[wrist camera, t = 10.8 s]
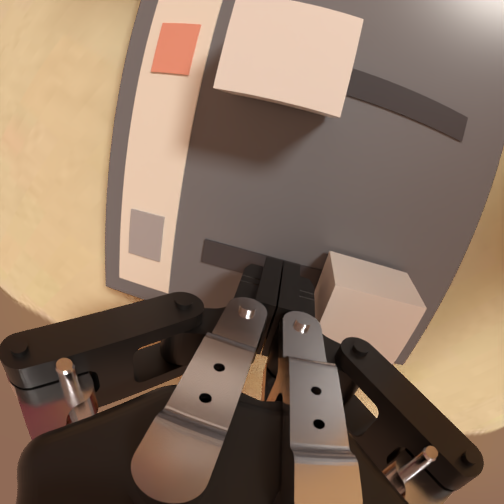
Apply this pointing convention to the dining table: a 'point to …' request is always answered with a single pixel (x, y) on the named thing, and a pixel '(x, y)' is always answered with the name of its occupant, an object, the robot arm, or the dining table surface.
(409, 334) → the tab
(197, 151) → the switch housing
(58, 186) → the dining table surface
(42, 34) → the dining table surface
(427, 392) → the dining table surface
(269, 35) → the tab
